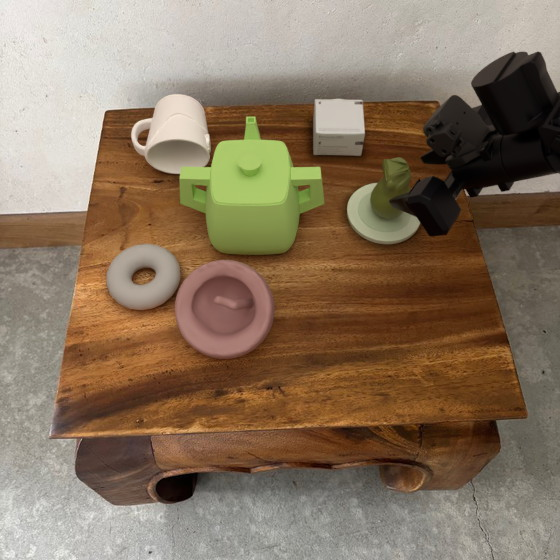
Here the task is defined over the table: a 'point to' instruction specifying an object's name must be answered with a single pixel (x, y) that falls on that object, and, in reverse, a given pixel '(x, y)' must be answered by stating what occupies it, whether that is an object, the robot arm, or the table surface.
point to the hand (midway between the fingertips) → (407, 181)
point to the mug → (175, 135)
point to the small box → (338, 127)
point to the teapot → (251, 194)
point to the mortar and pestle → (224, 309)
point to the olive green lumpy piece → (390, 187)
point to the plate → (378, 220)
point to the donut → (150, 292)
